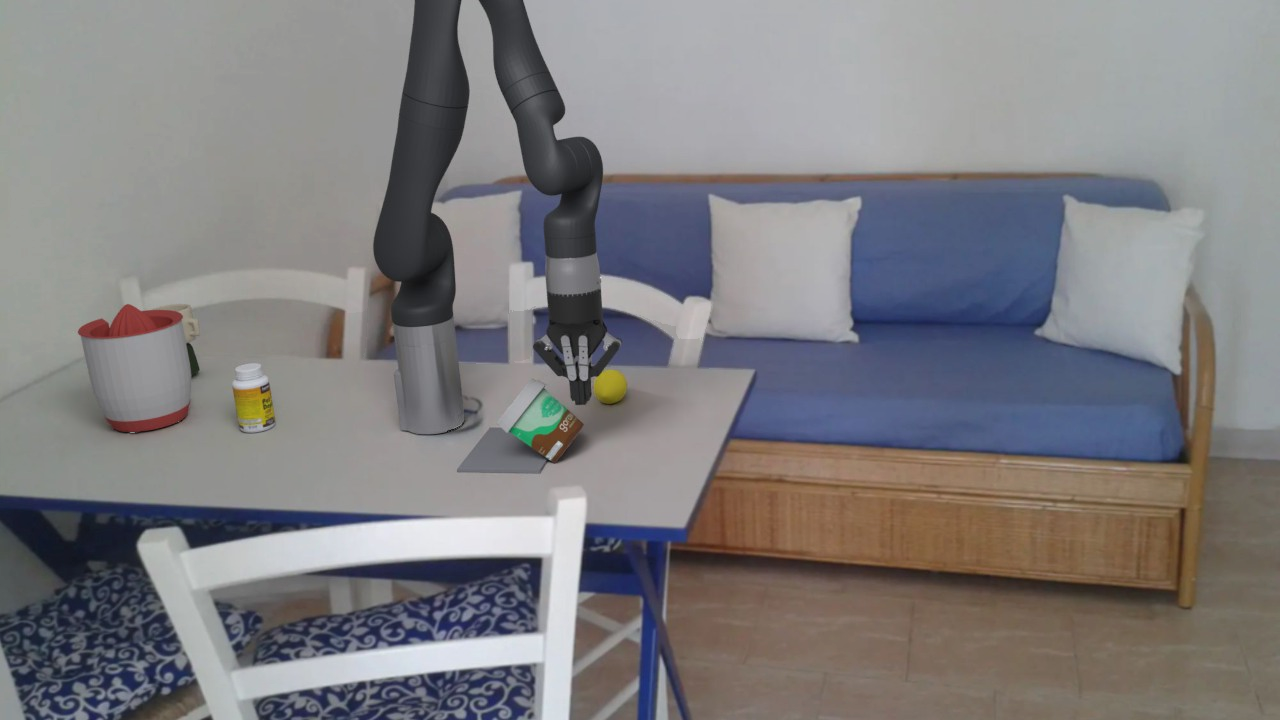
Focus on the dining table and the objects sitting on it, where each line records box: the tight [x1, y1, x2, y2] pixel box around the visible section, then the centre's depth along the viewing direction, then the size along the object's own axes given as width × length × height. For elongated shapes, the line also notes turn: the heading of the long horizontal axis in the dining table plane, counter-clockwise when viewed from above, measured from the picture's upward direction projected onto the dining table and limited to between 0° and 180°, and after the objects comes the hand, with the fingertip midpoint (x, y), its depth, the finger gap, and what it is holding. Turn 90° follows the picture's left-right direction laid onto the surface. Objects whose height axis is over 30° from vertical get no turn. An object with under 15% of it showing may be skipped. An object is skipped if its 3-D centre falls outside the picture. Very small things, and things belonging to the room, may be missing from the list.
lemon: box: [592, 369, 628, 405], centre depth 183 cm, size 7×5×5 cm
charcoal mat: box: [456, 426, 549, 474], centre depth 166 cm, size 12×16×1 cm
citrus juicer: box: [77, 303, 192, 433], centre depth 185 cm, size 16×17×20 cm
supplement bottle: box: [231, 362, 276, 434], centre depth 180 cm, size 6×6×10 cm
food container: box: [496, 378, 585, 464], centre depth 164 cm, size 12×6×10 cm
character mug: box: [151, 303, 201, 377], centre depth 208 cm, size 11×7×13 cm, turn 74°
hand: (581, 403), depth 162 cm, fingers closed
